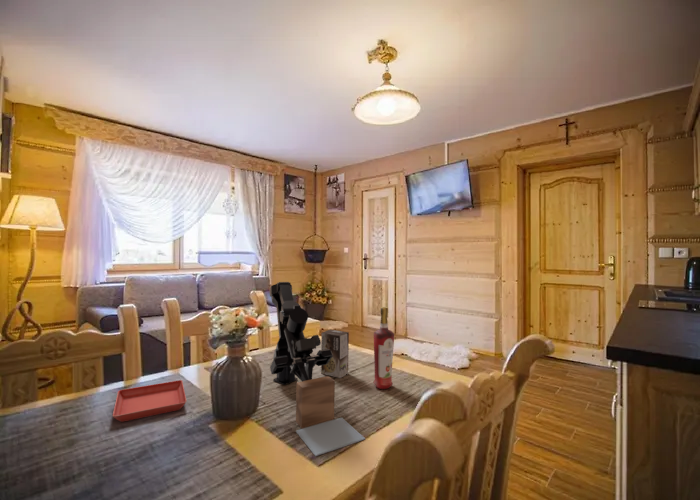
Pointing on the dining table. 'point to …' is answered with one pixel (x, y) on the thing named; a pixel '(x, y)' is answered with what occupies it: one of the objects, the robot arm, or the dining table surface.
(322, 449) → the mat
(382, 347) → the liquor
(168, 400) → the plant saucer
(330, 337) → the coffee box
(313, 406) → the walnut block
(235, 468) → the dining table surface
